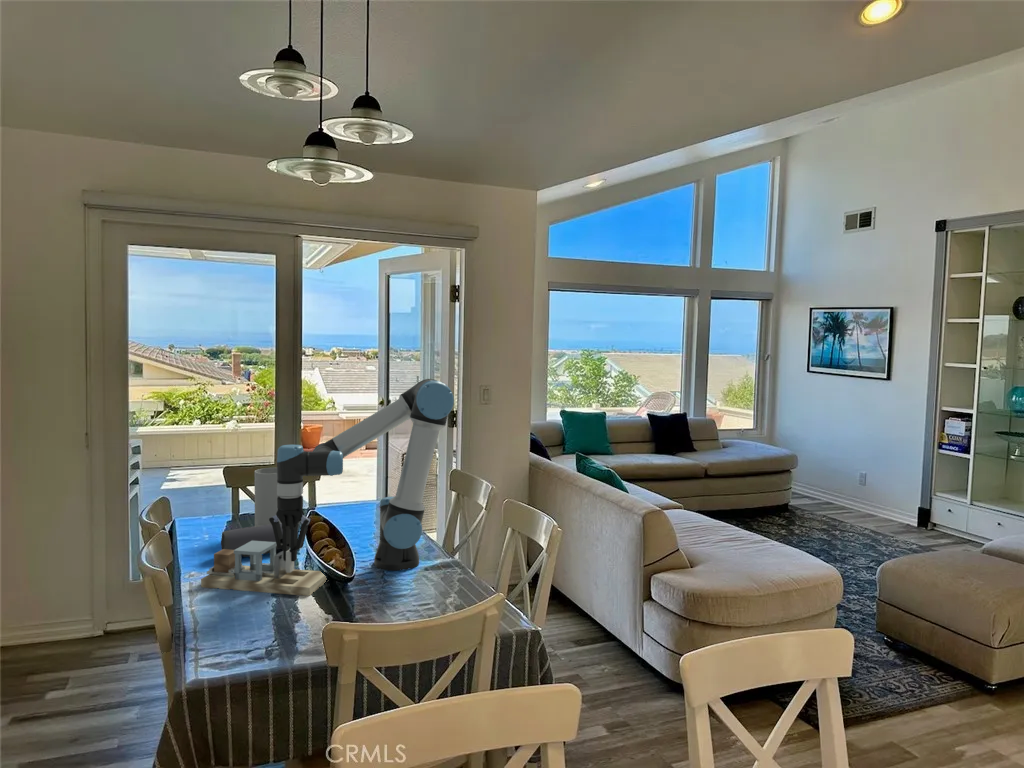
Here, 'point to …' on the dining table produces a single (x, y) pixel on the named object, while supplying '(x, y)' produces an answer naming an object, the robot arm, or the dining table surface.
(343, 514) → the dining table surface
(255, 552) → the tunnel
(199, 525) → the dining table surface
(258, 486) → the cylinder vase
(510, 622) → the dining table surface
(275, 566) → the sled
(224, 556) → the block
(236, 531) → the bluetooth speaker
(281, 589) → the platform
